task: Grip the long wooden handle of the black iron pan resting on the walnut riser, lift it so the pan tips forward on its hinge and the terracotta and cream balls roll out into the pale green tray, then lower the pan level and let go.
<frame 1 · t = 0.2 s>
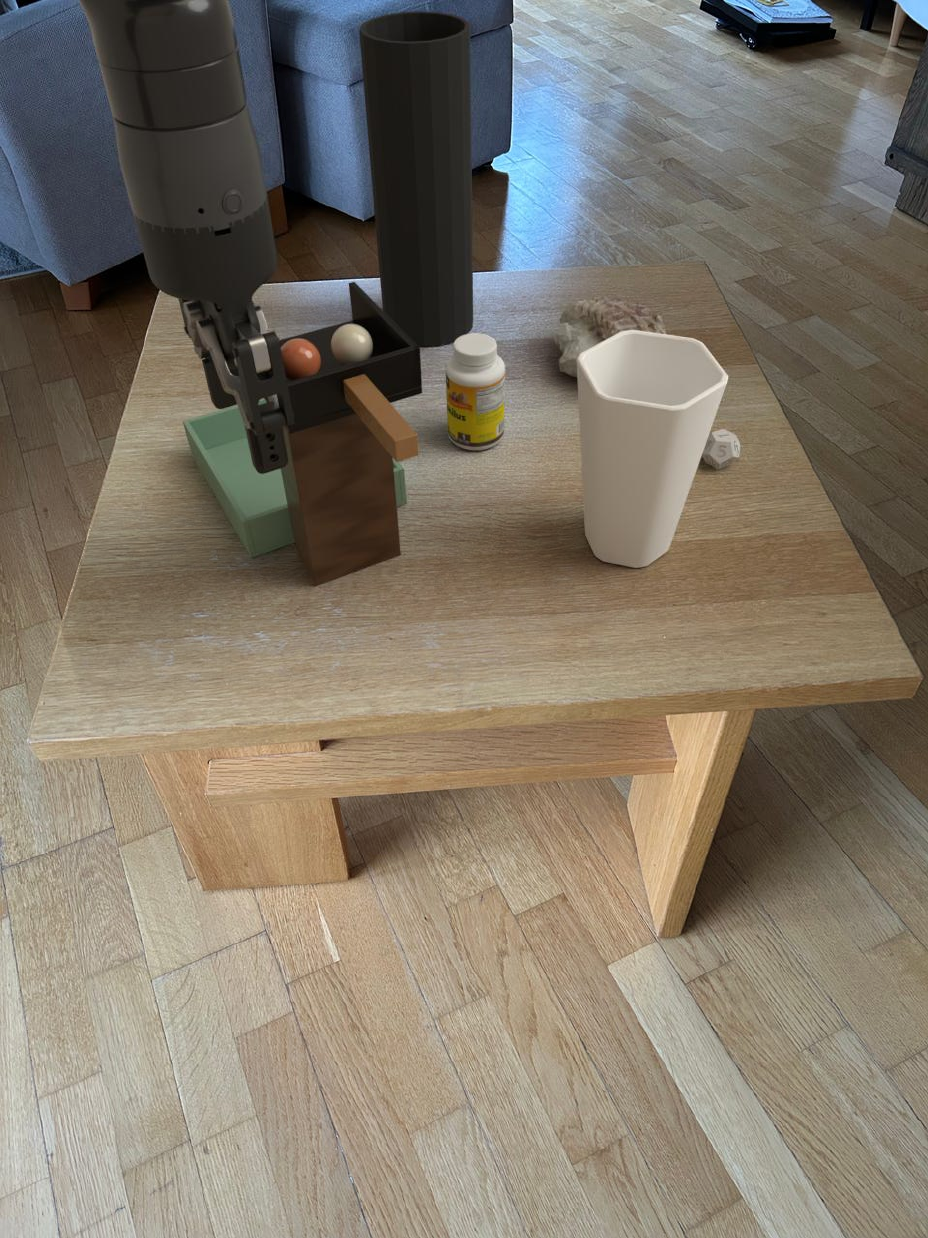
hand: (249, 434, 65), 17 cm above the table, tool pointing down, fingers open, 8 cm apart
supplement bottle: (475, 438, 94), on the table
cup: (626, 541, 83), on the table
riser: (349, 556, 82), on the table
vase: (428, 325, 110), on the table
cream ball: (351, 345, 68), point 20 cm above the table, touching pan
game die: (717, 463, 91), on the table
tray: (296, 478, 90), on the table
terracotta ball: (299, 360, 66), point 20 cm above the table, touching pan
pan: (346, 380, 65), point 20 cm above the table, hinge at 0.0°, touching cream ball, terracotta ball
seashell: (604, 370, 103), on the table
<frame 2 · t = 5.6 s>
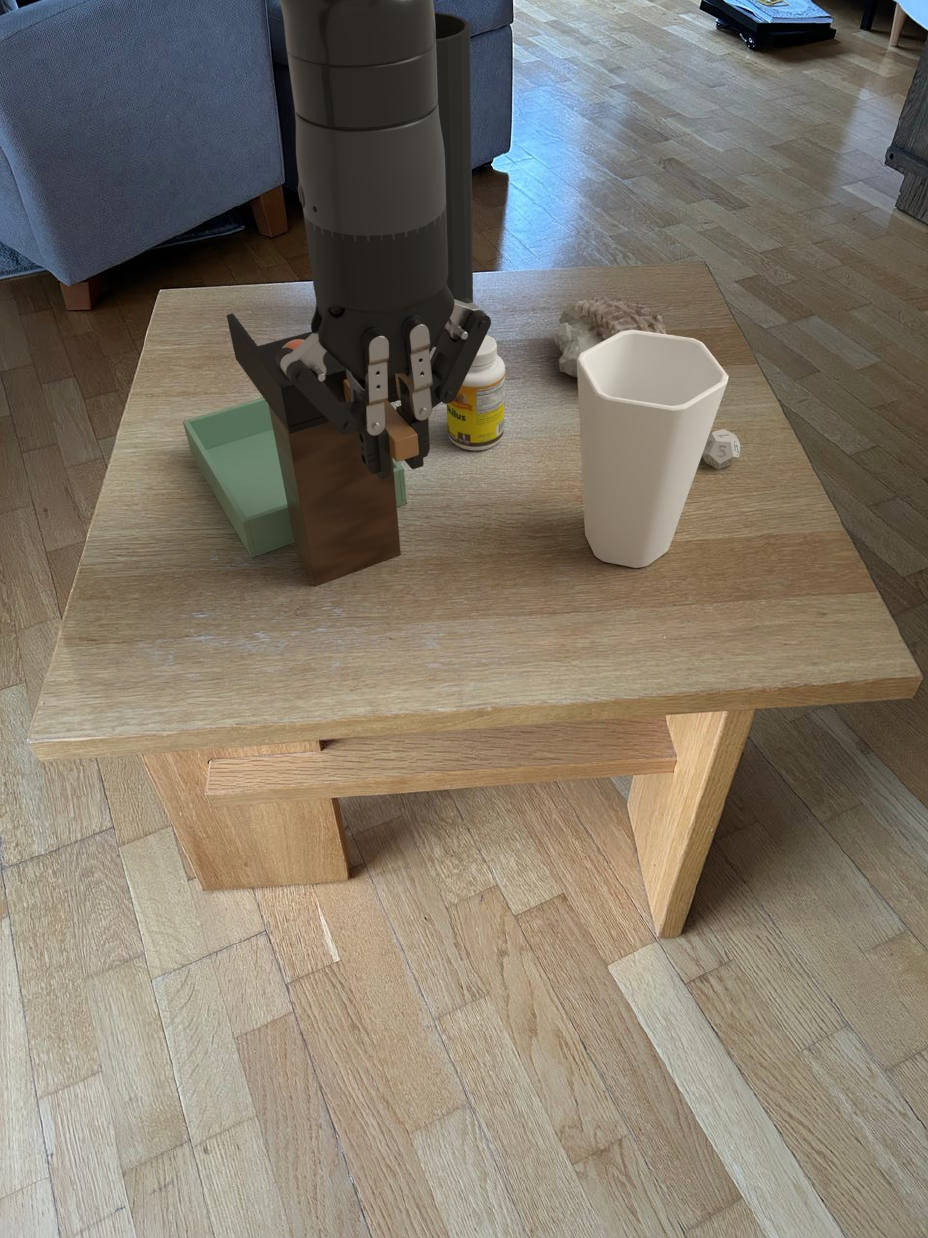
hand: (396, 465, 62), 17 cm above the table, tool pointing down, fingers closed on pan
pan: (346, 380, 65), point 20 cm above the table, hinge at 0.0°, touching cream ball, gripper, terracotta ball
everything else where it was.
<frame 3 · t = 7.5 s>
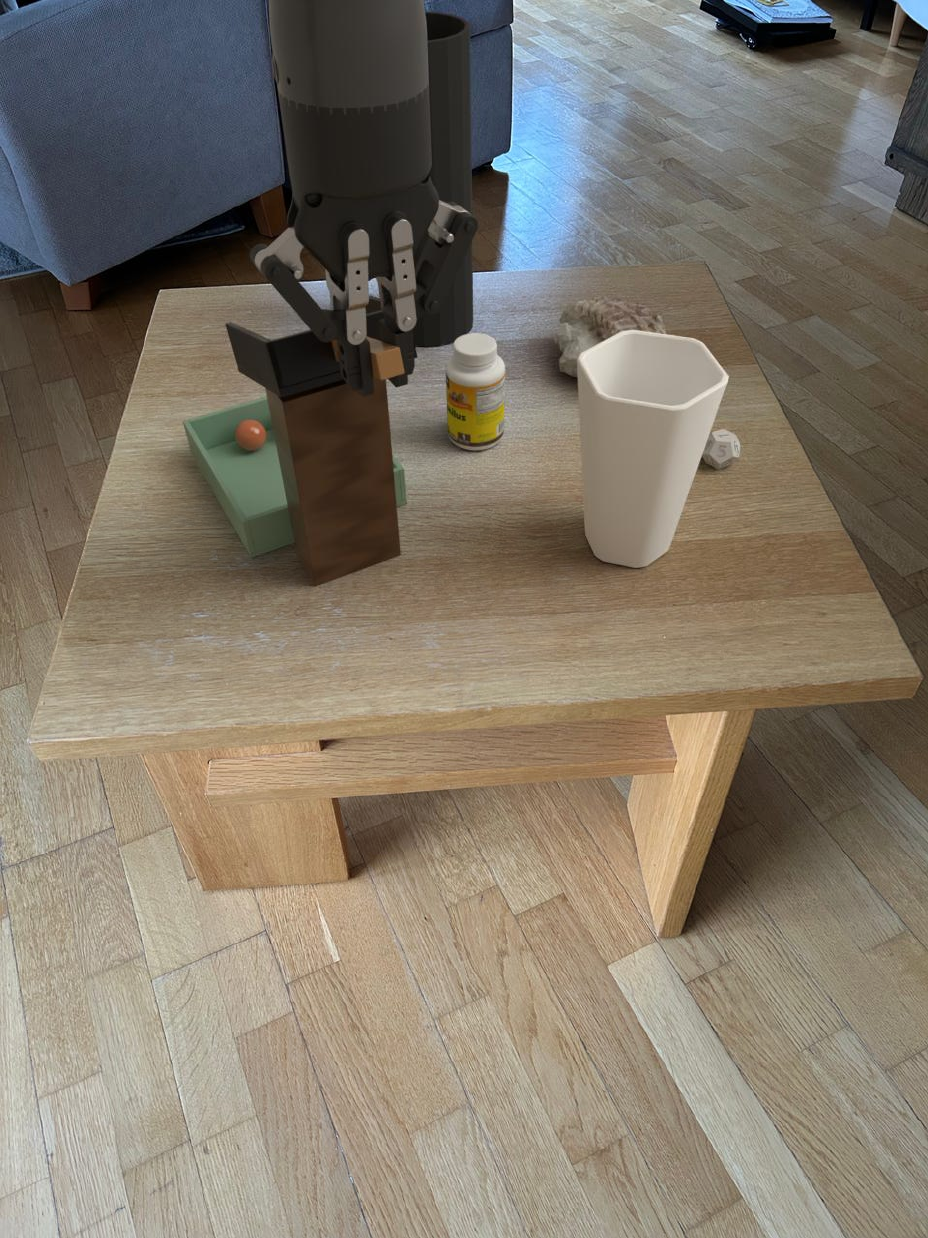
hand: (379, 384, 59), 23 cm above the table, tool pointing down, fingers closed on pan, 2 cm apart
cream ball: (289, 423, 93), point 2 cm above the table, tilted 57°, touching tray
terracotta ball: (250, 435, 91), point 2 cm above the table, tilted 57°, touching tray
pan: (337, 347, 64), point 22 cm above the table, hinge at 19.0°, touching gripper
everything else where it was.
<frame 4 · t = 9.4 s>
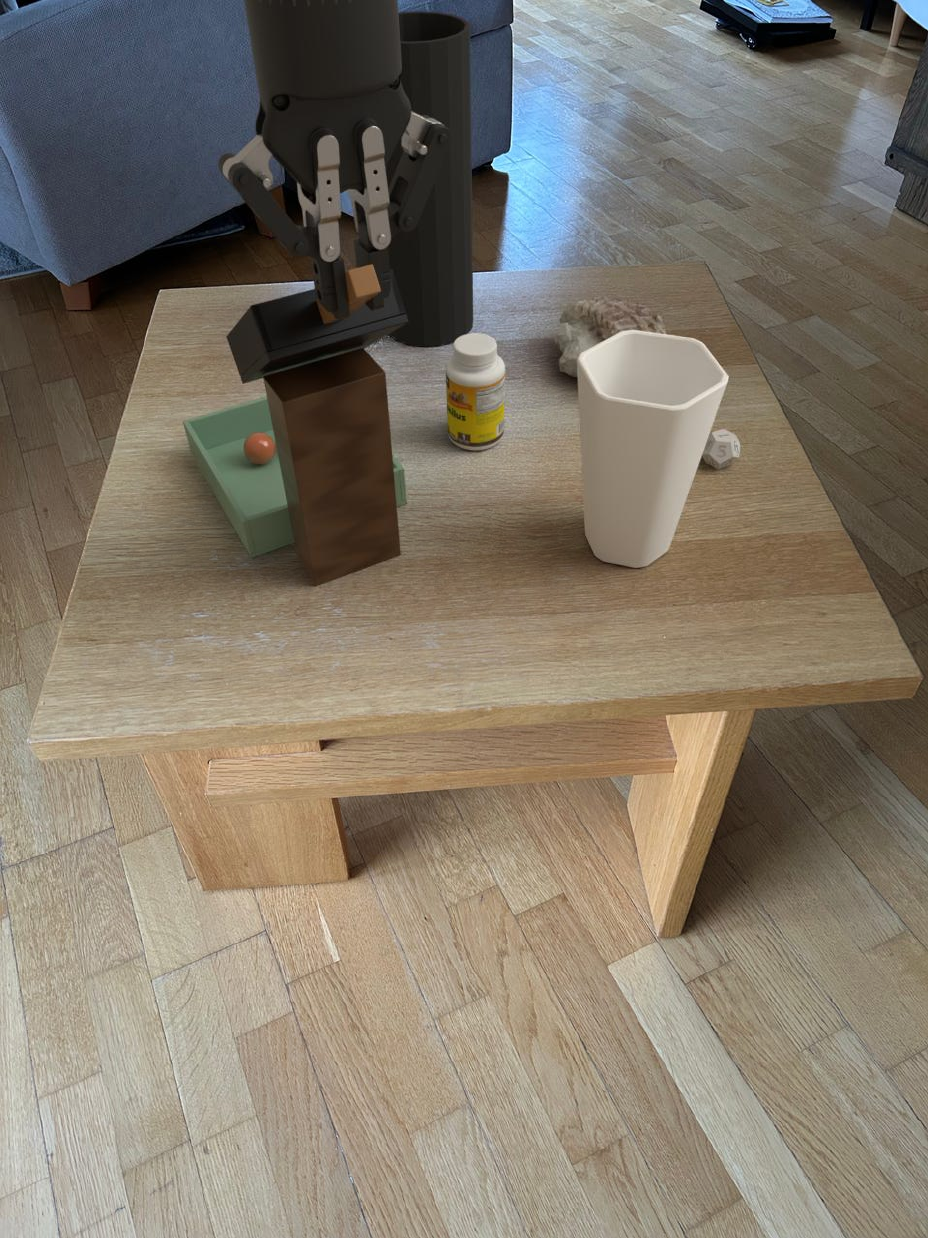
hand: (355, 307, 58), 27 cm above the table, tool pointing down, fingers closed on pan
cream ball: (299, 435, 91), point 2 cm above the table, tilted 37°, touching tray
terracotta ball: (259, 448, 90), point 2 cm above the table, tilted 37°, touching tray
pan: (326, 318, 64), point 23 cm above the table, hinge at 36.4°, touching gripper
everything else where it was.
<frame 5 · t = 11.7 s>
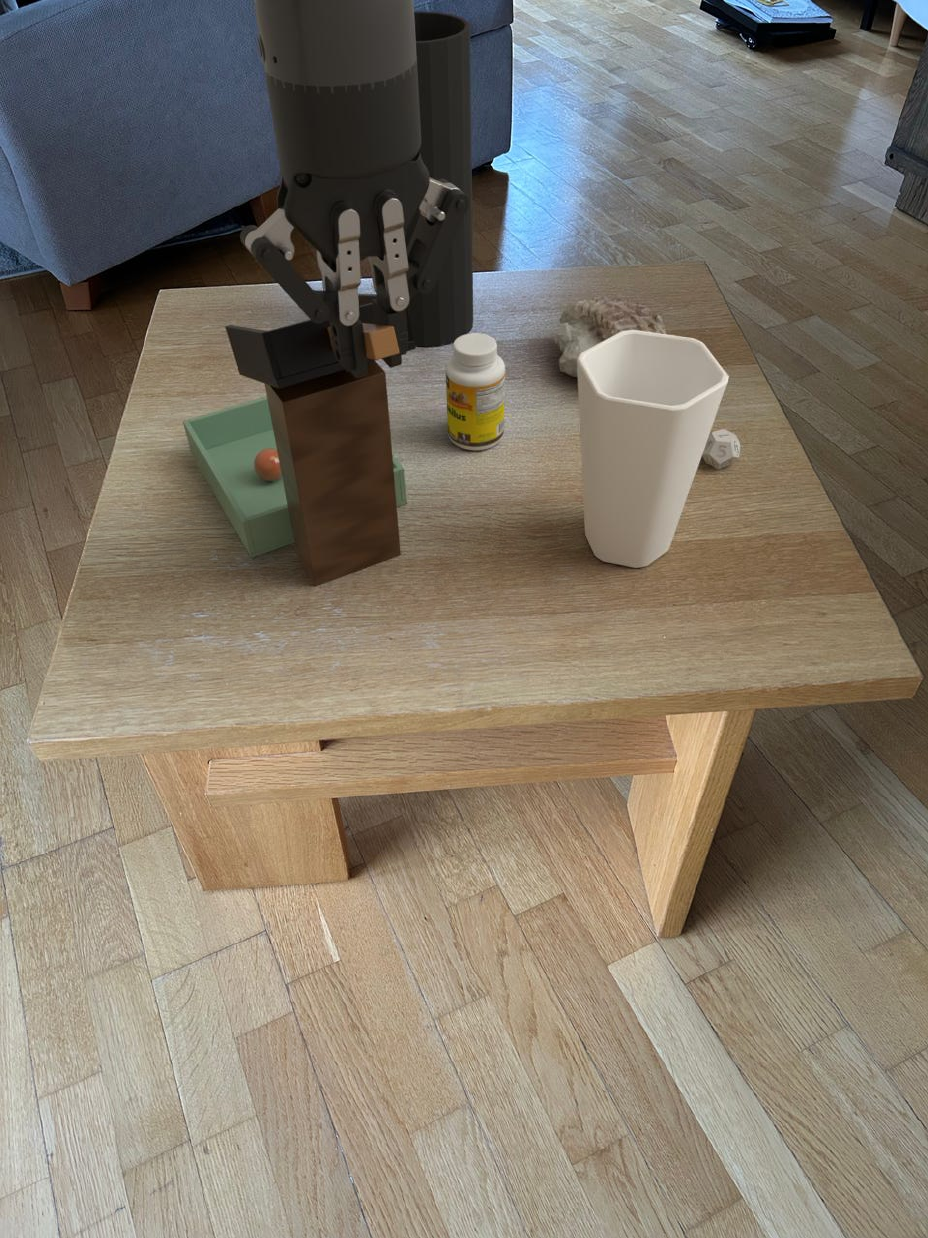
hand: (373, 364, 59), 24 cm above the table, tool pointing down, fingers closed on pan, 2 cm apart
cream ball: (310, 451, 89), point 2 cm above the table, tilted 149°, touching tray
terracotta ball: (270, 464, 88), point 2 cm above the table, tilted 149°, touching tray
pan: (335, 339, 64), point 22 cm above the table, hinge at 23.3°, touching gripper
everything else where it was.
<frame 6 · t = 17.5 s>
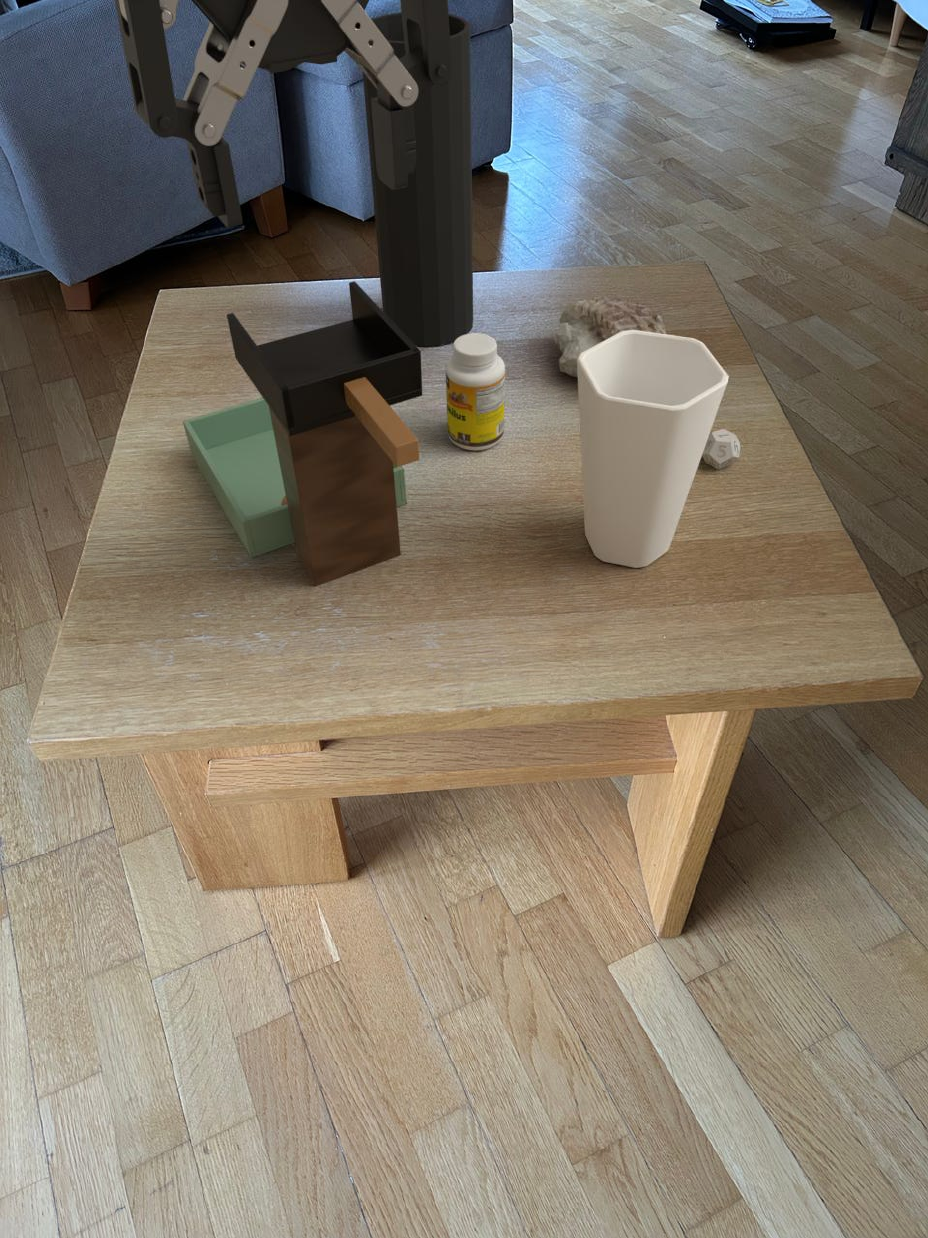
hand: (313, 201, 46), 36 cm above the table, tool pointing down, fingers open, 8 cm apart
cream ball: (340, 492, 85), point 2 cm above the table, tilted 56°, touching tray
terracotta ball: (298, 506, 84), point 2 cm above the table, tilted 56°, touching tray
pan: (346, 382, 65), point 20 cm above the table, hinge at -1.4°
everything else where it was.
at the end: terracotta ball inside the target area in the tray (6.7 cm from its centre), point 2.0 cm above the tray's base; cream ball inside the target area in the tray (6.7 cm from its centre), point 2.0 cm above the tray's base; pan reached +36° during the clip, -1° at the end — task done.
